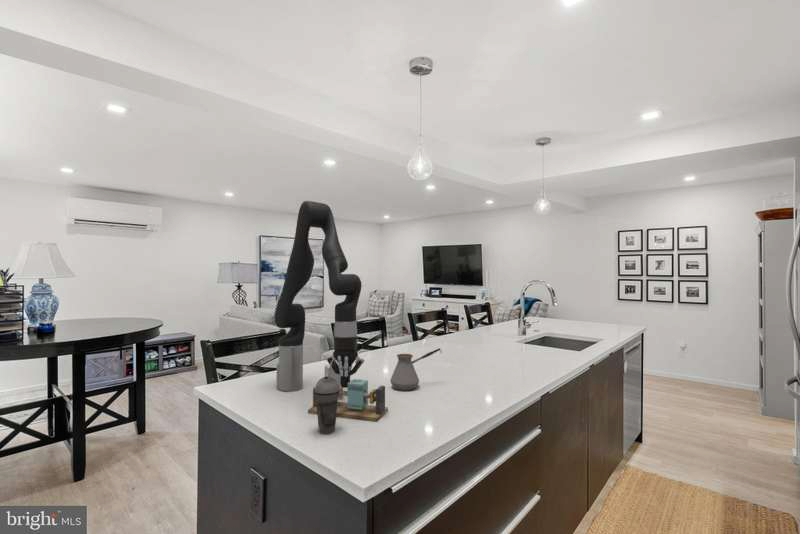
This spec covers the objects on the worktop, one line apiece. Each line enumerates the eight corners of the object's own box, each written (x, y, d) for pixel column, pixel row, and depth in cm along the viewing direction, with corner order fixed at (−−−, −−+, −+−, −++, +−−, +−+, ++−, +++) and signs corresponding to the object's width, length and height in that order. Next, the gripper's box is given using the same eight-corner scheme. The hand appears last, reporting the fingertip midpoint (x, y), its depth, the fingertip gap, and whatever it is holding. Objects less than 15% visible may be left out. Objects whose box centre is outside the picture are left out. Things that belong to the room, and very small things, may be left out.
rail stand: (308, 413, 127) (308, 385, 127) (323, 403, 136) (323, 377, 137) (377, 421, 120) (377, 392, 120) (387, 410, 129) (387, 383, 129)
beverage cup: (315, 426, 116) (316, 359, 117) (340, 425, 117) (340, 358, 117) (312, 436, 109) (312, 365, 109) (338, 435, 110) (338, 364, 110)
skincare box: (327, 401, 139) (327, 367, 139) (324, 397, 142) (324, 365, 143) (343, 398, 141) (343, 365, 142) (339, 395, 145) (340, 363, 145)
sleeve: (347, 407, 125) (347, 383, 126) (353, 402, 130) (354, 379, 130) (361, 409, 124) (361, 384, 124) (367, 404, 129) (367, 380, 129)
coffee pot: (393, 393, 148) (394, 353, 148) (387, 384, 159) (387, 347, 159) (446, 389, 153) (446, 350, 153) (437, 381, 164) (437, 345, 165)
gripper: (322, 335, 127) (321, 388, 127) (359, 337, 123) (359, 392, 123) (332, 331, 134) (332, 382, 134) (368, 333, 130) (368, 385, 130)
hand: (345, 387), depth 128 cm, fingers closed
